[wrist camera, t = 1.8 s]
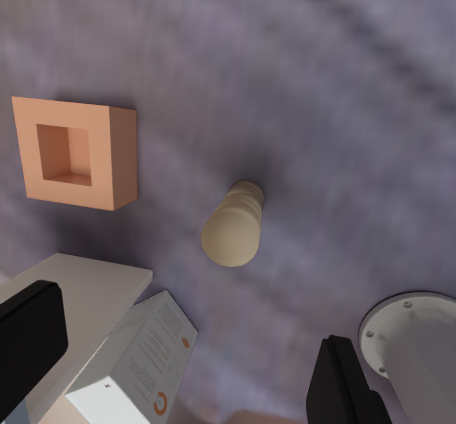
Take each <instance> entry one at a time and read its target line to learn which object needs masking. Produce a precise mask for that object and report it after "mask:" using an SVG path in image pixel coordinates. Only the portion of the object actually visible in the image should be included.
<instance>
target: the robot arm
mask: <svg viewBox="0 0 456 424" xmlns="http://www.w3.org/2000/svg"><path fill="white" fill-rule="evenodd" d="M358 338H359V346H360V348H361V351H362V354H363V356H364V358H365V360H366V362H367V363H368V364H369V365H370V366H371V368H372V369H374V370H375V371H376V372H377V373H378V374H380V375H382V376H384V377H385V378H387V379H389V380H390V382H391V384H392V386H393V388H394V390H395V392H396V395H397V397H398V399H399V401H400V403H401V405H402V407H403V409H404V411H405V414H406V416H407V418H408V420H409V422H410V424H456V300H454V299H452V298H450V297H447V296H444V295H441V294H436V293H430V292H414V293H406V294H402V295H398V296H395V297H392V298H390V299H388V300H386V301H383V302H382V303H380V304H379V305H377V306H376V307H375V308H374V309H372V310H371V311H370V312H369V313H368V314H367V316H366V317H365V319H364V320H363V322H362V324H361V327H360V330H359V337H358ZM67 349H68V335H67V328H66V320H65V312H64V305H63V297H62V290H61V288H60V287H59V285H58V284H57V283H56V282H52V281H47V280H37V281H35V282H34V283H32V284H30V285H29V286H27V287H26V288H24V289H23V290H21V291H20V292H18V293H17V294H15V295H13V296H12V297H10V298H9V299H7V300H6V301H4V302H3V303H1V304H0V424H1V423H2V422H3V421H4V420H5V419H6V418H7V417H8V416H9V415H10V414H11V412H12V411H13V410H14V409H15V408H16V407H17V406H18V405H19V404H20V403H21V401H22V400H23V399H24V398H25V397H26V396H27V395H28V394H29V393H30V392H31V391H32V389H33V388H34V387H35V386H36V385H37V384H38V383H39V382H40V381H41V380H42V378H43V377H44V376H45V375H46V374H47V373H48V372H49V371H50V370H51V369H52V368H53V366H54V365H55V364H56V363H57V362H58V361H59V360H60V359H61V358H62V357H63V355H64V354H65V353H66V351H67ZM306 411H307V419H308V424H392V422H391V419H390V417H389V414H388V412H387V410H386V407H385V405H384V402H383V400H382V398H381V396H380V395H379V394H378V393H377V392H376V391H374V390H370V389H369V386H368V384H367V381H366V379H365V376H364V373H363V371H362V368H361V366H360V363H359V360H358V358H357V355H356V353H355V350H354V347H353V345H352V342H351V340H350V339H349V338H345V337H340V336H334V335H330V336H329V338H328V339H325V338H324V339H323V340H322V343H321V347H320V350H319V354H318V358H317V361H316V365H315V368H314V372H313V376H312V379H311V383H310V386H309V390H308V394H307V398H306Z"/></svg>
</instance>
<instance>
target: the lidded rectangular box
mask: <svg viewBox="0 0 456 424" xmlns="http://www.w3.org/2000/svg"><path fill="white" fill-rule="evenodd" d="M37 280H47V281H52V282H56V283H57V284H58V285H59V287H60V288H61V290H62V297H63V305H64V312H65V320H66V328H67V335H68V349H67V351H66V353H65V354H64V355H63V357H62V358H61V359H60V360H59V361H58V362H57V363H56V364H55V365H54V366H53V368H52V369H51V370H50V371H49V372H48V373H47V374H46V375H45V376H44V377H43V378H42V380H41V381H40V382H39V383H38V384H37V385H36V386H35V387H34V388H33V389H32V391H31V392H30V393H29V394H28V395H27V396H26V397H25V398H24V399H23V400H22V401H21V403H20V404H19V405H18V406H17V407H16V408H15V409H14V410H13V411H12V412H11V414H10V415H9V416H8V417H7V418H6V419H5V420H4V421H3V422H2V423H1V424H37V423H38V422H39V421H40V420H41V419H42V417H43V416H44V415H45V414H46V412H47V411H48V410H49V409H50V407H51V406H52V405H53V403H54V402H55V401H56V400H57V399H58V397H59V396H60V395H61V394H62V392H63V391H64V390H65V389H66V387H67V386H68V385H69V384H70V382H71V381H72V380H73V379H74V377H75V376H76V375H77V374H78V372H79V371H80V370H81V368H82V367H83V366H84V365H85V363H86V362H87V361H88V360H89V359H90V357H91V356H92V355H93V354H94V352H95V351H96V350H97V349H98V347H99V346H100V345H101V344H102V342H103V341H104V340H105V339H106V337H107V336H108V335H109V334H110V332H111V331H112V330H113V329H114V327H115V326H116V325H117V324H118V322H119V321H120V320H121V319H122V318H123V316H124V315H125V314H126V313H127V311H128V310H129V309H130V308H131V306H132V305H133V304H134V303H135V301H136V300H137V299H138V298H139V296H140V295H141V294H142V293H143V291H144V290H145V289H146V288H147V286H148V285H149V284H150V283H151V281H152V280H153V270H149V269H144V268H138V267H133V266H127V265H122V264H116V263H111V262H105V261H100V260H94V259H89V258H83V257H78V256H73V255H67V254H62V253H56V254H54V255H52V256H50V257H49V258H47V259H45V260H43V261H42V262H40V263H38V264H36V265H34V266H33V267H31V268H29V269H27V270H26V271H24V272H22V273H20V274H19V275H17V276H15V277H13V278H11V279H10V280H8V281H6V282H5V283H3V284H1V285H0V304H1V303H3V302H4V301H6V300H7V299H9V298H10V297H12V296H13V295H15V294H17V293H18V292H20V291H21V290H23V289H24V288H26V287H27V286H29V285H30V284H32V283H34V282H35V281H37Z"/></svg>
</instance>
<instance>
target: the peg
mask: <svg viewBox="0 0 456 424" xmlns="http://www.w3.org/2000/svg"><path fill="white" fill-rule="evenodd" d="M263 203H264V194H263V191H262V189H261V187H260V186H259V185H258V184H256V183H255V182H253V181H250V180H242V181H239V182H237V183H235V184H234V185H233V186H232V187H231V189H230V190H229V192H228V193H227V194H226V196H225V197H224V199H223V200H222V201H221V203H220V204H219V206H218V207H217V208H216V210H215V211H214V213H213V214H212V215H211V217H210V218H209V219H208V221H207V222H206V224H205V225H204V227H203V229H202V233H201V243H202V247H203V249H204V251H205V253H206V254H207V256H208V257H209V258H210V259H212V260H213V261H214V262H216V263H218V264H220V265H223V266H227V267H237V266H241V265H244V264H246V263H247V262H249V261H250V260H251V259H252V258H253V257H254V256H255V254H256V252H257V250H258V246H259V238H260V229H261V220H262V212H263Z"/></svg>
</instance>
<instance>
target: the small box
mask: <svg viewBox="0 0 456 424" xmlns="http://www.w3.org/2000/svg"><path fill="white" fill-rule="evenodd" d="M197 336H198V331H197V330H196V329H195V328H194V326H193V325H192V324H191V322H190V321H189V319H188V318H187V317H186V315H185V314H184V313H183V311H182V310H181V309H180V307H179V306H178V305H177V303H176V302H175V301H174V299H173V298H172V297H171V295H170V294H169V293H168V291H167V290H164V291H162V292H160V293H158V294H156V295H154V296H152V297H150V298H148V299H146V300H144V301H142V302H140V303H138V304H136V305H134V306H133V307H132V308H131V309H130V310H129V312H128V313H127V314H126V316H125V317H124V318H123V319H122V321H121V322H120V323H119V324H118V326H117V327H116V328H115V330H114V331H113V332H112V334H111V335H110V336H109V337H108V339H107V340H106V341H105V343H104V344H103V345H102V347H101V348H100V349H99V350H98V352H97V353H96V354H95V356H94V357H93V358H92V359H91V361H90V362H89V363H88V365H87V366H86V367H85V369H84V370H83V371H82V372H81V374H80V375H79V376H78V378H77V379H76V380H75V381H74V383H73V384H72V385H71V387H70V388H69V389H68V391H67V392H66V393H65V397H66V398H67V399H68V400H69V401H70V402H71V403H72V404H73V405H74V406H75V407H76V408H77V409H78V411H79V412H80V413H81V414H83V416H84V417H85V418H86V419H87V420H88V421H89V422H90V423H91V424H166V422H167V419H168V416H169V413H170V410H171V408H172V405H173V402H174V400H175V397H176V394H177V391H178V389H179V386H180V383H181V380H182V377H183V374H184V372H185V369H186V366H187V364H188V361H189V358H190V355H191V352H192V350H193V347H194V344H195V341H196V338H197Z"/></svg>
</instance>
